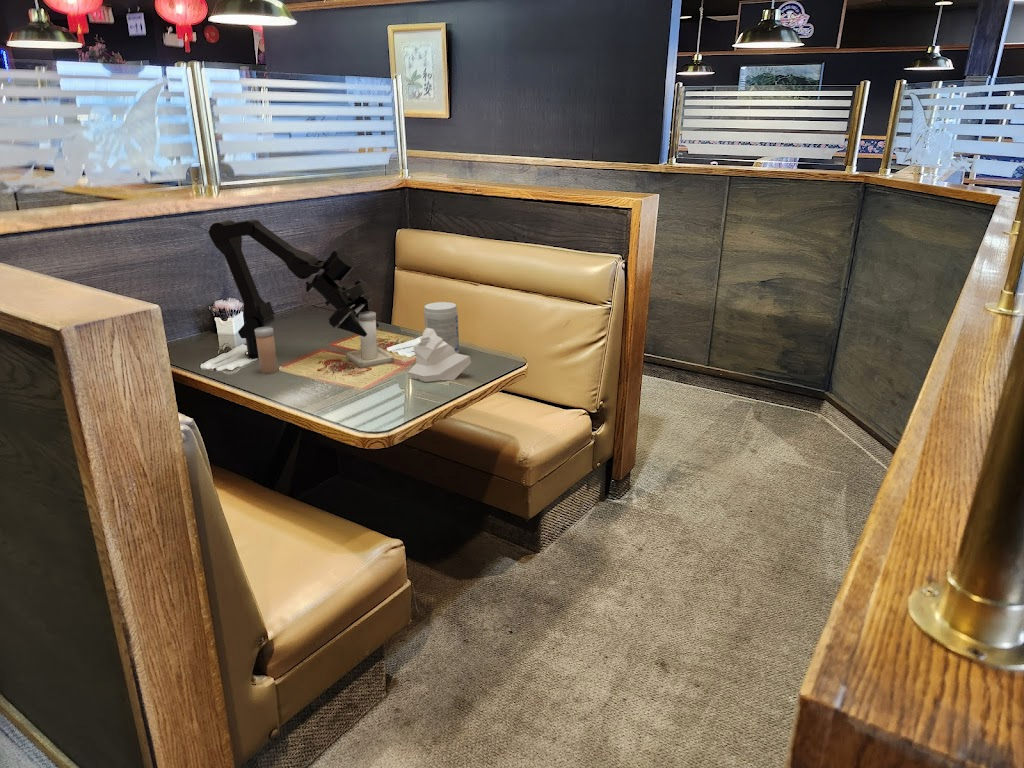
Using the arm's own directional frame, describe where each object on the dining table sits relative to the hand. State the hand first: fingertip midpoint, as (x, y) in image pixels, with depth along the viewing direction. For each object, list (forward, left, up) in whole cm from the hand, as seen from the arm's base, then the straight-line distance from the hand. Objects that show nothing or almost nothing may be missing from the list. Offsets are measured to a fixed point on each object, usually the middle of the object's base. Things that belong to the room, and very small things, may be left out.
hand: (372, 331), depth 204 cm
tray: (-1, -1, -9) cm, 9 cm away
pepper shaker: (-7, -28, -9) cm, 30 cm away
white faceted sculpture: (+22, +9, -9) cm, 25 cm away
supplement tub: (+6, +19, -9) cm, 22 cm away
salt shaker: (-1, -1, -8) cm, 8 cm away
